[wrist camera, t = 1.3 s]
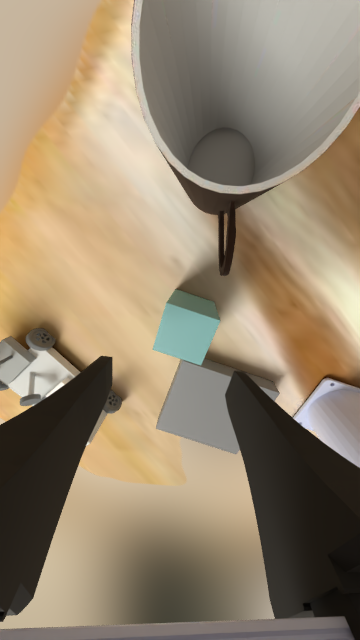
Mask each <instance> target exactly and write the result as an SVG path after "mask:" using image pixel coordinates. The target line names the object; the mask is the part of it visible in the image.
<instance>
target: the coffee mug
mask: <svg viewBox="0 0 360 640" xmlns="http://www.w3.org/2000/svg"><path fill="white" fill-rule="evenodd" d="M131 29H132V65H133V72H134V79H135V86H136V92H137V96H138V99H139V103H140V106H141V110H142V113H143V117H144V120H145V122H146V124H147V126H148V128H149V131H150V133H151V135H152V137H153V139H154V141H155V143H156V145H157V146H158V148H159V150H160V151H161V153H162V154H163V156H164V158H165V159H166V161H167V163H168V164H169V166H170V167H171V169H172V171H173V172H174V174H175V175H176V177H177V179H178V180H179V182H180V183H181V185H182V187H183V188H184V190H185V191H186V193H187V195H188V196H189V198H190V199H191V201H192V202H193V204H194V205H195V206H196V207H197V208H199V209H200V210H202V211H203V212H205V213H209V214H214V215H218V219H219V270H220V275H221V276H227V275H228V274H229V272H230V268H231V264H232V258H233V252H234V245H235V237H236V226H235V209H236V208H238V207H240V206H242V205H244V204H245V203H247V202H249V201H251V200H253V199H254V198H256V197H258V196H260V195H262V194H263V193H265V192H267V191H269V190H271V189H272V188H274V187H276V186H278V185H280V184H281V183H283V182H285V181H286V180H288V179H290V178H291V177H293V176H295V175H296V174H298V173H300V172H301V171H303V170H304V169H305V168H307V167H308V166H309V165H310V164H311V163H313V162H314V161H315V160H316V159H317V158H318V157H320V156H321V155H322V154H323V153H324V152H325V151H326V150H327V149H328V148H329V147H330V146H331V144H332V143H333V142H334V141H335V140H336V139H337V138H338V136H339V135H340V134H341V133H342V132H343V131H344V130H345V128H346V127H347V125H348V124H349V122H350V121H351V119H352V118H353V116H354V115H355V113H356V112H357V110H358V109H359V107H360V0H134V7H133V15H132V24H131ZM225 213H227V215H228V222H227V223H228V225H227V237H226V251H225V255H224V214H225Z"/></svg>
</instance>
